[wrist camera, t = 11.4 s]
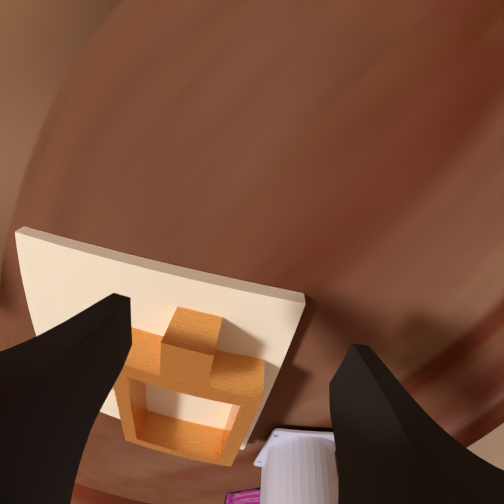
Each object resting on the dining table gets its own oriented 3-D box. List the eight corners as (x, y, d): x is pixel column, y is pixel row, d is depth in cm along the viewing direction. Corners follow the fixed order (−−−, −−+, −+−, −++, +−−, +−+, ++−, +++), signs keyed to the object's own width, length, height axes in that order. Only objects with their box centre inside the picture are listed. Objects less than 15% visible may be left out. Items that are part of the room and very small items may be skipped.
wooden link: (234, 436, 25) (230, 466, 22) (136, 412, 24) (125, 440, 21) (276, 328, 19) (276, 368, 15) (128, 292, 18) (105, 325, 15)
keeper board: (244, 440, 27) (238, 496, 21) (61, 385, 26) (35, 428, 20) (303, 293, 19) (316, 374, 12) (24, 226, 18) (-37, 265, 12)
